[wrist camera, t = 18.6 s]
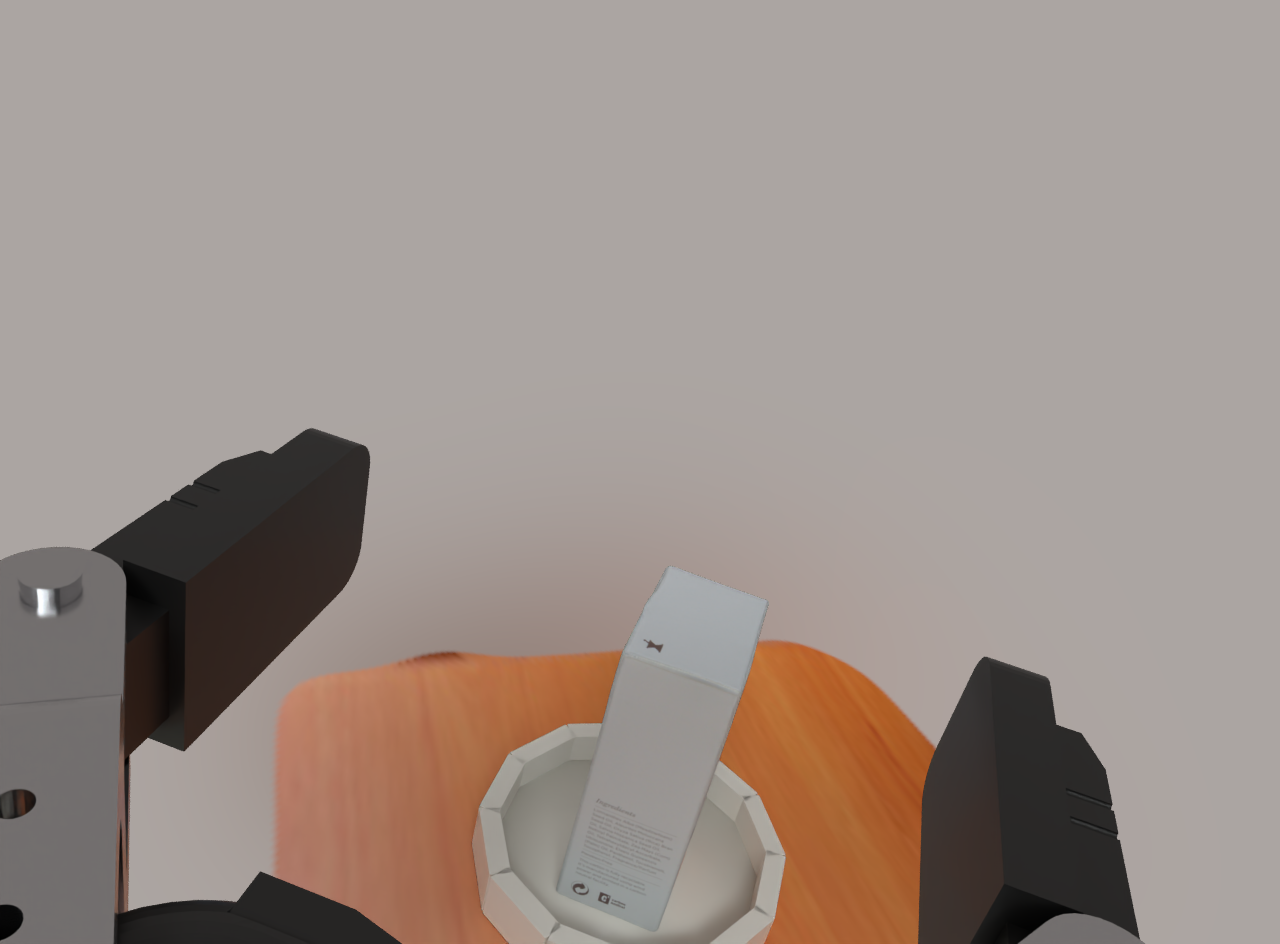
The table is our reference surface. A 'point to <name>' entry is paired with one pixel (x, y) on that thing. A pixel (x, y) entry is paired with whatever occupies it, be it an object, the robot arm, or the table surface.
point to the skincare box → (660, 745)
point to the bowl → (540, 832)
